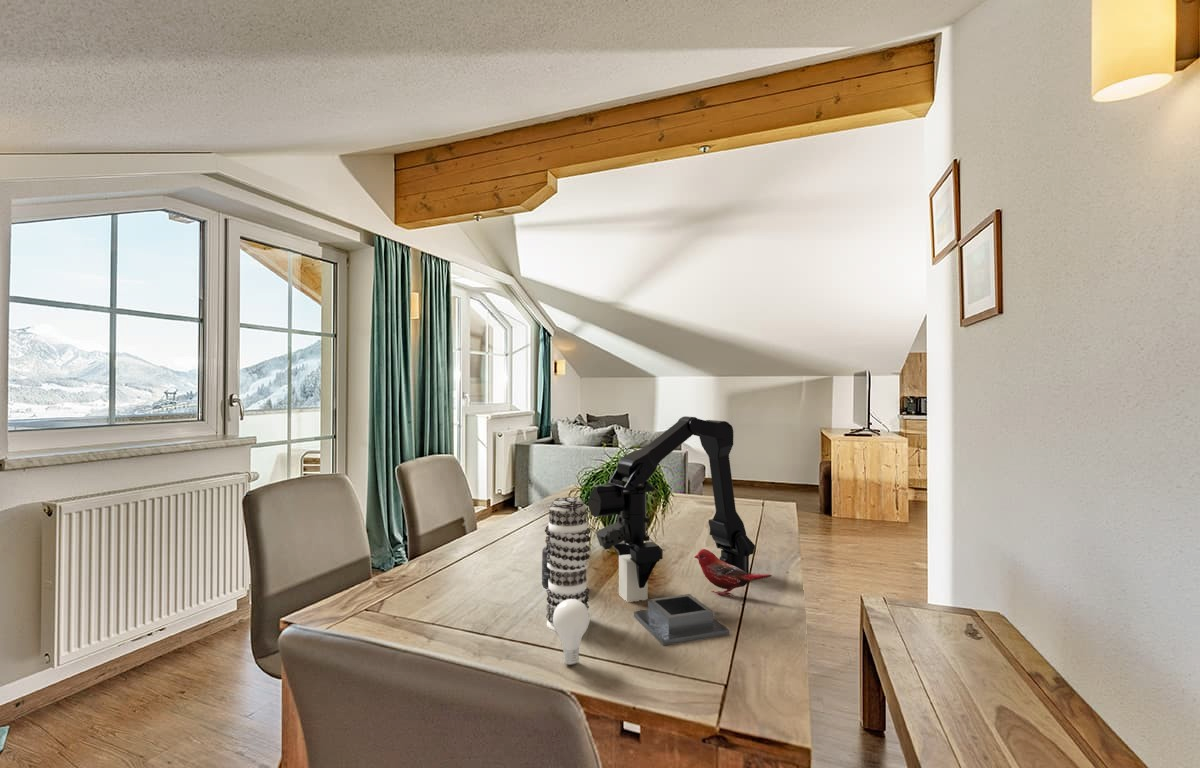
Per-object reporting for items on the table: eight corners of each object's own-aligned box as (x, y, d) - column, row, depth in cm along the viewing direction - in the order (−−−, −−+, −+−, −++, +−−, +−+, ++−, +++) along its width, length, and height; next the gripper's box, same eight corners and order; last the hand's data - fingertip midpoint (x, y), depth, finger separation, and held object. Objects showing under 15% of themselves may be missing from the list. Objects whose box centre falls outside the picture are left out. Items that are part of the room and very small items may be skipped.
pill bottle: (563, 590, 131) (563, 542, 131) (538, 588, 132) (538, 540, 132) (569, 582, 137) (569, 535, 137) (546, 580, 138) (546, 534, 138)
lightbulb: (552, 655, 99) (552, 593, 99) (588, 654, 99) (588, 592, 100) (552, 674, 93) (552, 607, 93) (590, 672, 93) (591, 606, 93)
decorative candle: (573, 637, 106) (574, 506, 106) (535, 626, 111) (535, 500, 111) (599, 620, 114) (599, 498, 114) (562, 611, 119) (562, 493, 119)
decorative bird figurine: (695, 588, 133) (695, 546, 133) (773, 601, 125) (773, 556, 125) (692, 592, 130) (692, 549, 130) (770, 605, 122) (770, 559, 122)
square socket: (693, 607, 121) (693, 589, 121) (729, 634, 108) (729, 614, 108) (633, 616, 116) (633, 597, 116) (663, 645, 103) (663, 624, 103)
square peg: (638, 592, 130) (638, 553, 130) (647, 599, 125) (647, 559, 125) (618, 594, 128) (618, 555, 129) (626, 602, 124) (627, 561, 124)
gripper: (587, 506, 133) (586, 571, 133) (615, 524, 116) (614, 600, 116) (630, 503, 137) (630, 566, 137) (663, 520, 119) (663, 593, 119)
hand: (633, 580), depth 127 cm, fingers open, 9 cm apart
